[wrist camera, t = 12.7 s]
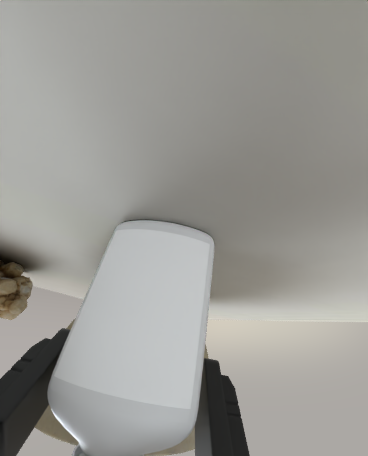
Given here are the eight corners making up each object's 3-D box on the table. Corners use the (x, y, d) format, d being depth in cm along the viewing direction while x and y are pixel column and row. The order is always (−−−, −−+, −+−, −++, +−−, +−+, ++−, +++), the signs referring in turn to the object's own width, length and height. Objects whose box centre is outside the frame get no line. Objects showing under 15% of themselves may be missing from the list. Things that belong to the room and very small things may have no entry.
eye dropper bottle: (129, 195, 8) (-233, 1011, 2) (228, 240, 10) (202, 751, 4) (113, 232, 12) (-39, 578, 5) (189, 261, 14) (141, 548, 7)
